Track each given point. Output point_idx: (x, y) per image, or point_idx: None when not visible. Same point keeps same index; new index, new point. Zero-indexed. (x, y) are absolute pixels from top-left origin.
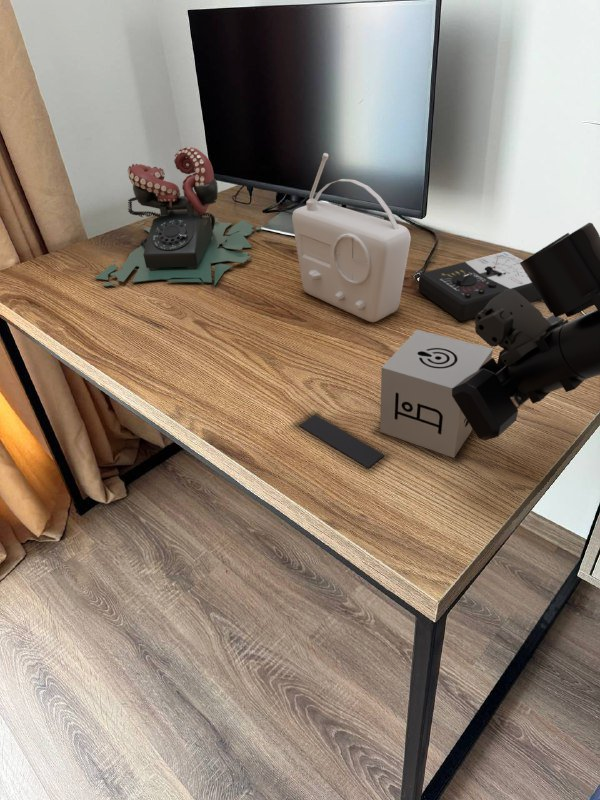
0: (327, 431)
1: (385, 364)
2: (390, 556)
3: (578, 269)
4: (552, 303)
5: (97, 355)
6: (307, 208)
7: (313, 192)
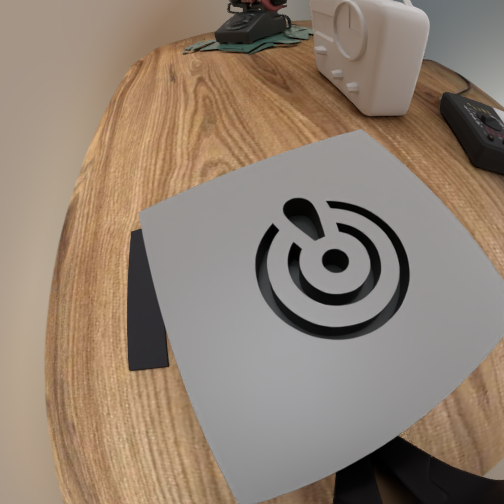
0: (145, 262)
1: (157, 205)
2: (66, 487)
3: None
4: None
5: (116, 100)
6: None
7: None
